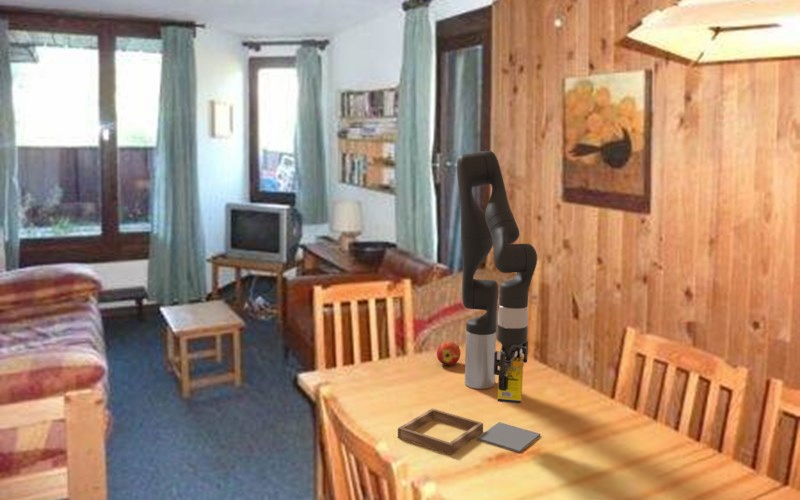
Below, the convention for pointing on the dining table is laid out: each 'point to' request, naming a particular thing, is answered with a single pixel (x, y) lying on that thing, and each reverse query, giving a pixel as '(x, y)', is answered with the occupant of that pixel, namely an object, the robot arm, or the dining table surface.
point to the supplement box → (513, 383)
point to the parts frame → (437, 444)
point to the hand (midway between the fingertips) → (510, 385)
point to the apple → (448, 353)
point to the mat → (508, 437)
